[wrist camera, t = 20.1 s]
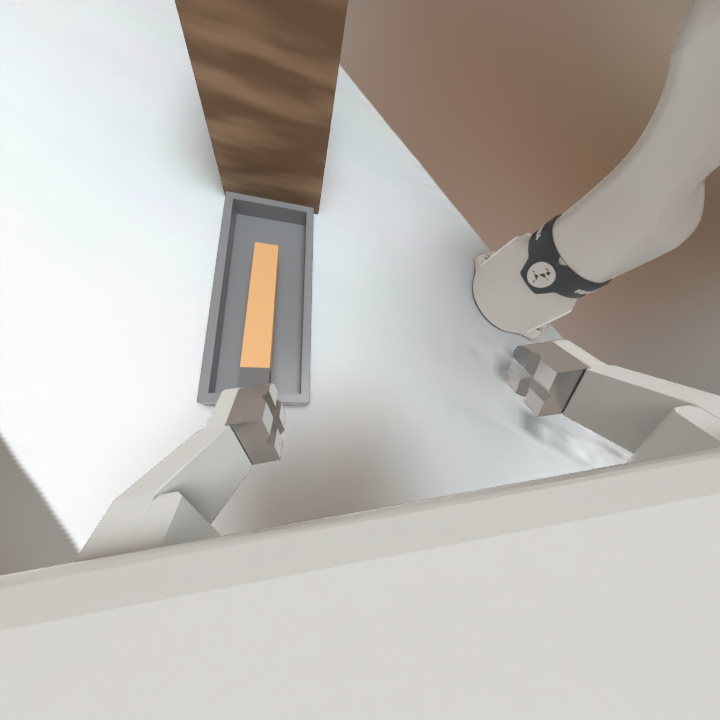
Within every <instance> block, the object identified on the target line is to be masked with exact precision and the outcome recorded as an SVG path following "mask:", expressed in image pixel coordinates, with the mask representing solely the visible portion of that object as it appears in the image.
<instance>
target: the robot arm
mask: <svg viewBox="0 0 720 720" xmlns="http://www.w3.org/2000/svg"><path fill="white" fill-rule="evenodd" d="M719 165H720V0H694V2H693V4H692V6H691V7H690V9H689V11H688V13H687V15H686V17H685V19H684V21H683V23H682V25H681V27H680V30H679V32H678V35H677V38H676V40H675V44H674V47H673V51H672V56H671V63H670V68H669V73H668V76H667V80H666V84H665V87H664V90H663V93H662V96H661V98H660V101H659V103H658V106H657V108H656V110H655V112H654V114H653V116H652V118H651V120H650V122H649V124H648V125H647V127H646V129H645V131H644V132H643V134H642V135H641V137H640V138H639V140H638V141H637V143H636V144H635V146H634V147H633V148H632V149H631V151H630V152H629V153H628V154H627V156H626V157H625V158H624V159H623V160H622V161H621V163H620V164H619V165H618V166H617V167H616V168H615V169H614V170H613V171H612V172H611V173H610V174H609V175H607V176H606V177H605V178H604V179H603V180H602V181H601V182H600V183H599V184H598V185H597V186H595V188H593V189H592V190H591V191H590V192H589V193H587V194H586V195H585V196H584V197H583V198H582V199H580V200H579V201H578V202H577V203H576V204H575V205H574V206H572V207H571V208H570V209H568V210H567V211H566V212H565V213H563V214H560V215H557V216H555V217H554V218H553V219H551V220H549V221H547V222H546V223H545V224H544V225H542V226H541V227H540V229H538V230H537V231H536V232H535V233H534V234H533V235H531V233H527V234H524V235H523V236H521V235H519V236H517V237H515V238H513V239H512V240H511V241H509V242H508V243H507V244H506V245H504V246H503V247H502V248H501V249H499V250H498V251H493V252H489V253H484V254H480V255H479V256H477V257H476V258H475V260H474V263H475V270H476V273H475V277H474V280H473V293H474V297H475V300H476V303H477V305H478V307H479V309H480V310H481V312H482V313H483V315H484V316H485V317H486V318H487V319H488V320H489V321H490V322H491V323H492V324H493V325H495V326H496V327H498V328H500V329H502V330H504V331H507V332H511V333H519V334H522V335H523V336H525V337H527V338H529V339H531V340H534V339H536V338H538V337H539V336H540V335H541V334H542V332H543V331H544V330H545V328H546V327H547V325H548V324H549V323H550V322H551V321H554V320H556V319H558V318H560V317H562V316H564V315H566V314H568V313H570V312H571V311H572V308H573V307H574V305H575V304H576V302H577V299H578V298H580V297H582V296H584V295H586V294H590V293H592V292H594V291H596V290H598V289H599V288H601V287H603V286H604V285H607V284H608V283H609V282H610V281H611V280H612V278H614V277H616V276H618V275H620V274H622V273H625V272H627V271H629V270H631V269H633V268H635V267H637V266H639V265H641V264H643V263H646V262H648V261H650V260H652V259H654V258H656V257H658V256H660V255H662V254H664V253H666V252H668V251H671V250H673V249H674V248H676V247H677V246H679V245H680V244H681V243H682V242H683V241H685V240H686V239H687V238H688V237H689V236H690V235H691V234H692V232H693V231H694V230H695V229H696V227H697V225H698V223H699V221H700V219H701V217H702V212H703V207H704V194H705V193H704V191H705V190H704V189H705V187H704V179H705V178H706V177H707V176H708V175H709V174H710V173H711V172H712V171H713V170H714V169H715V168H717V167H718V166H719ZM512 357H513V359H514V360H515V362H514V363H513V364H512V365H511V366H510V367H509V369H508V373H507V377H508V383H509V385H510V387H511V388H512V389H513V391H514V392H515V393H517V394H519V395H521V396H523V397H524V403H525V404H526V405H527V406H528V407H529V408H530V409H531V410H532V411H533V413H534V414H535V415H536V416H537V417H539V416H546V415H553V414H561V413H563V415H565V416H566V417H568V418H570V419H572V420H574V421H575V422H577V423H579V424H581V425H583V426H584V427H586V428H588V429H590V430H592V431H594V432H595V433H597V434H599V435H601V436H603V437H604V438H606V439H608V440H610V441H612V442H613V443H615V444H617V445H619V446H621V447H623V448H624V449H626V450H628V451H630V452H632V453H633V455H632V457H631V458H630V459H629V460H628V461H627V462H626V463H625V464H620V465H614V466H609V467H603V468H597V469H592V470H586V471H581V472H575V473H570V474H564V475H558V476H553V477H547V478H542V479H536V480H531V481H525V482H519V483H514V484H508V485H503V486H497V487H492V488H486V489H481V490H475V491H470V492H464V493H458V494H453V495H447V496H442V497H436V498H431V499H425V500H420V501H414V502H409V503H403V504H398V505H392V506H387V507H381V508H375V509H370V510H364V511H359V512H353V513H348V514H342V515H337V516H331V517H325V518H320V519H314V520H309V521H303V522H298V523H292V524H286V525H281V526H275V527H270V528H264V529H259V530H253V531H248V532H242V533H236V534H231V535H225V536H221V535H220V534H219V533H218V532H217V530H216V529H215V528H214V527H213V526H212V525H211V523H212V522H213V520H214V519H215V517H216V516H217V515H218V513H219V512H220V511H221V509H222V508H223V506H224V505H225V504H226V502H227V501H228V500H229V498H230V497H231V496H232V494H233V493H234V491H235V490H236V489H237V487H238V486H239V485H240V483H241V482H242V480H243V479H244V478H245V476H246V475H247V474H248V472H249V471H250V470H251V468H252V467H253V466H252V465H254V464H259V463H264V462H270V461H275V460H280V458H281V451H282V444H283V440H282V438H281V433H282V432H283V431H284V430H285V412H284V408H283V405H282V402H280V401H279V400H277V395H278V391H277V389H276V387H275V385H274V384H273V383H269V384H261V385H254V386H246V387H241V388H232V389H225V390H224V391H222V393H221V395H220V397H219V399H218V401H217V404H216V406H215V408H214V410H213V412H212V414H211V417H210V419H209V421H208V423H207V425H206V427H205V429H203V430H199V431H198V432H196V433H195V434H194V435H193V436H192V437H190V438H189V439H188V440H187V441H186V442H184V443H183V444H182V445H181V446H179V447H178V448H177V449H176V450H175V451H173V452H172V453H171V454H170V455H168V456H167V457H166V458H165V459H164V460H162V461H161V462H160V463H159V464H158V465H156V466H155V467H154V468H153V469H151V470H150V471H149V472H148V473H147V474H145V475H144V476H143V477H142V478H140V479H139V480H138V481H137V482H136V483H134V484H133V485H132V486H131V487H130V488H128V489H127V490H126V491H125V492H123V493H122V494H121V495H120V496H119V497H117V498H116V499H115V500H114V501H113V502H112V504H111V505H110V507H109V508H108V510H107V512H106V513H105V515H104V516H103V518H102V519H101V521H100V523H99V524H98V526H97V527H96V529H95V530H94V532H93V533H92V535H91V537H90V538H89V540H88V541H87V543H86V544H85V546H84V548H83V549H82V551H81V552H80V554H79V555H78V557H77V559H76V560H75V562H74V563H69V564H63V565H58V566H52V567H47V568H41V569H36V570H30V571H25V572H19V573H13V574H8V575H2V576H0V720H720V396H718V395H715V394H711V393H708V392H704V391H701V390H697V389H694V388H690V387H687V386H683V385H680V384H676V383H673V382H670V381H666V380H663V379H659V378H656V377H652V376H649V375H645V374H642V373H638V372H635V371H631V370H628V369H625V368H621V367H618V366H614V365H610V366H607V365H606V364H604V363H603V362H601V361H599V360H598V359H597V358H595V357H593V356H592V355H590V354H589V353H587V352H586V351H584V350H583V349H581V348H579V347H578V346H576V345H575V344H573V343H572V342H570V341H569V340H565V339H558V340H552V341H547V342H543V343H536V344H530V345H524V346H518V347H517V348H516V349H515V350H514V353H513V356H512Z"/></svg>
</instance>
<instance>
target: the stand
mask: <svg viewBox="0 0 720 720" xmlns="http://www.w3.org/2000/svg"><path fill="white" fill-rule="evenodd" d="M175 3H176V7H177V10H178V14H179V18H180V22H181V26H182V30H183V34H184V38H185V41H186V45H187V49H188V53H189V57H190V61H191V65H192V69H193V72H194V76H195V80H196V84H197V88H198V92H199V96H200V99H201V103H202V107H203V111H204V115H205V119H206V123H207V127H208V130H209V134H210V138H211V142H212V146H213V150H214V154H215V157H216V161H217V165H218V169H219V173H220V177H221V181H222V185H223V188H224V192H225V195H226V191H228V192H233V193H239V194H244V195H249V196H254V197H259V198H265V199H270V200H275V201H280V202H285V203H291V204H296V205H301V206H306V207H311V208H314V213H315V214H318V211H319V204H320V197H321V190H322V183H323V175H324V168H325V161H326V154H327V147H328V140H329V133H330V125H331V118H332V111H333V104H334V97H335V90H336V83H337V76H338V68H339V61H340V54H341V47H342V40H343V33H344V25H345V17H346V11H347V4H348V0H175Z"/></svg>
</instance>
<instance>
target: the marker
mask: <svg viewBox="0 0 720 720" xmlns="http://www.w3.org/2000/svg"><path fill="white" fill-rule="evenodd" d="M278 267H279V248H278V245H272V244H265V243H258V242H255V246H254V254H253V262H252V271H251V279H250V287H249V296H248V304H247V312H246V321H245V329H244V337H243V346H242V354H241V362H240V371H239V379H238V387H237V388H241V387H246V386H254V385H261V384H269V383H271V369H272V355H273V340H274V326H275V311H276V296H277V282H278Z"/></svg>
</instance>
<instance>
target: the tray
mask: <svg viewBox="0 0 720 720" xmlns="http://www.w3.org/2000/svg"><path fill="white" fill-rule="evenodd" d="M313 217H314V208H311V207H306V206H301V205H296V204H291V203H285V202H280V201H275V200H270V199H265V198H259V197H254V196H249V195H244V194H239V193H233V192H228V191H226V195H225V202H224V209H223V217H222V224H221V231H220V238H219V245H218V253H217V260H216V267H215V274H214V281H213V289H212V296H211V303H210V310H209V317H208V325H207V332H206V339H205V346H204V353H203V361H202V368H201V375H200V382H199V389H198V397H197V402H198V403H201V404H204V405H216V404H217V401H218V399H219V397H220V395H221V393H222V391H224V390H225V389H232V388H237V387H238V379H239V371H240V362H241V354H242V346H243V337H244V329H245V321H246V312H247V304H248V296H249V287H250V279H251V271H252V262H253V254H254V246H255V242H258V243H265V244H272V245H278V248H279V267H278V282H277V296H276V311H275V326H274V340H273V355H272V369H271V383H273V384H274V385H275V387H276V389H277V391H278V395H277V400H279V401H280V402H282V405H308V403H309V390H310V347H311V304H312V261H313Z"/></svg>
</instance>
